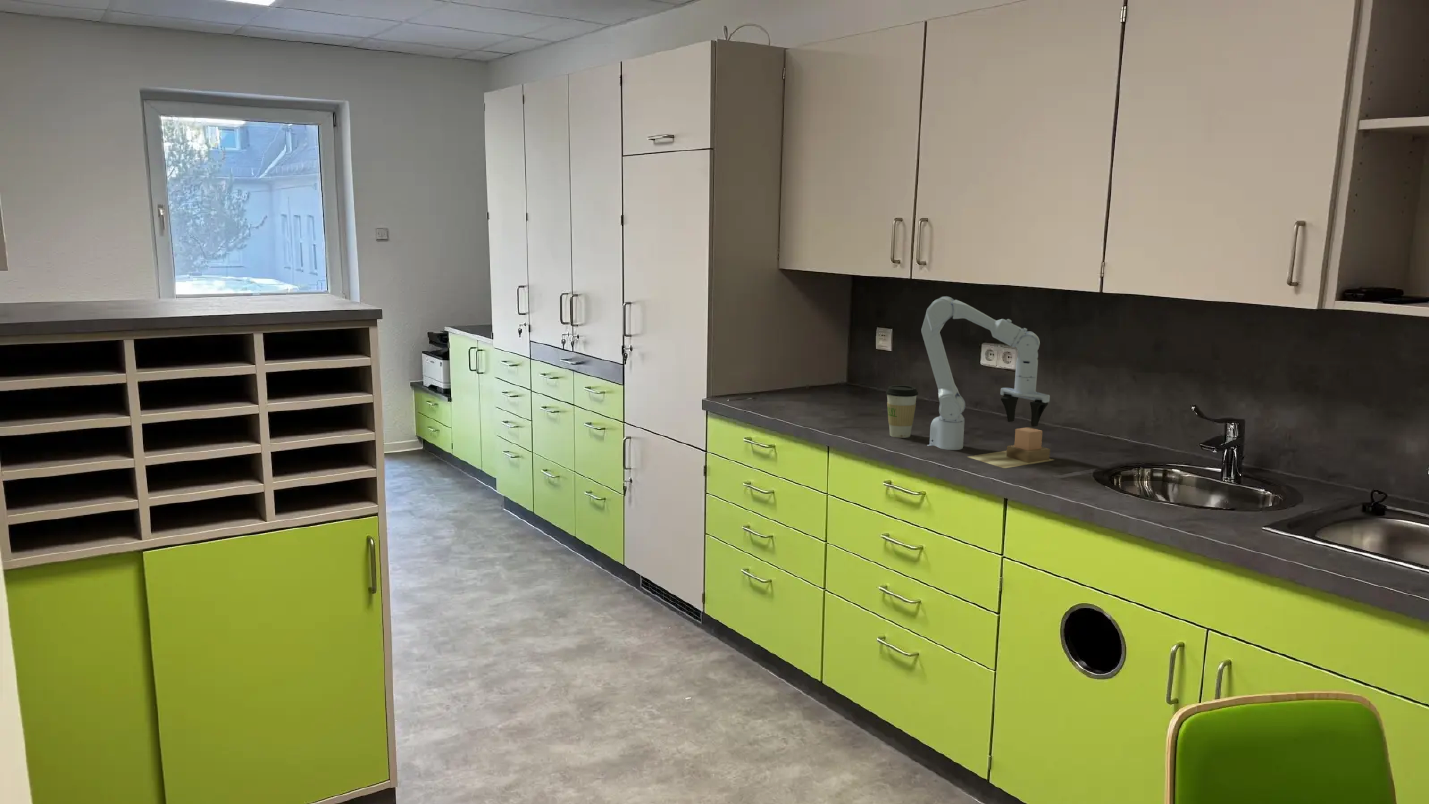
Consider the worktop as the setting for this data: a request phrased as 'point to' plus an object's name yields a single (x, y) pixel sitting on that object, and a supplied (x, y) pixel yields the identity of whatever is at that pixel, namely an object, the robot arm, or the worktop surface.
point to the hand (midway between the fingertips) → (1022, 423)
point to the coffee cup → (901, 409)
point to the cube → (1028, 438)
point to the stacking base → (1001, 460)
